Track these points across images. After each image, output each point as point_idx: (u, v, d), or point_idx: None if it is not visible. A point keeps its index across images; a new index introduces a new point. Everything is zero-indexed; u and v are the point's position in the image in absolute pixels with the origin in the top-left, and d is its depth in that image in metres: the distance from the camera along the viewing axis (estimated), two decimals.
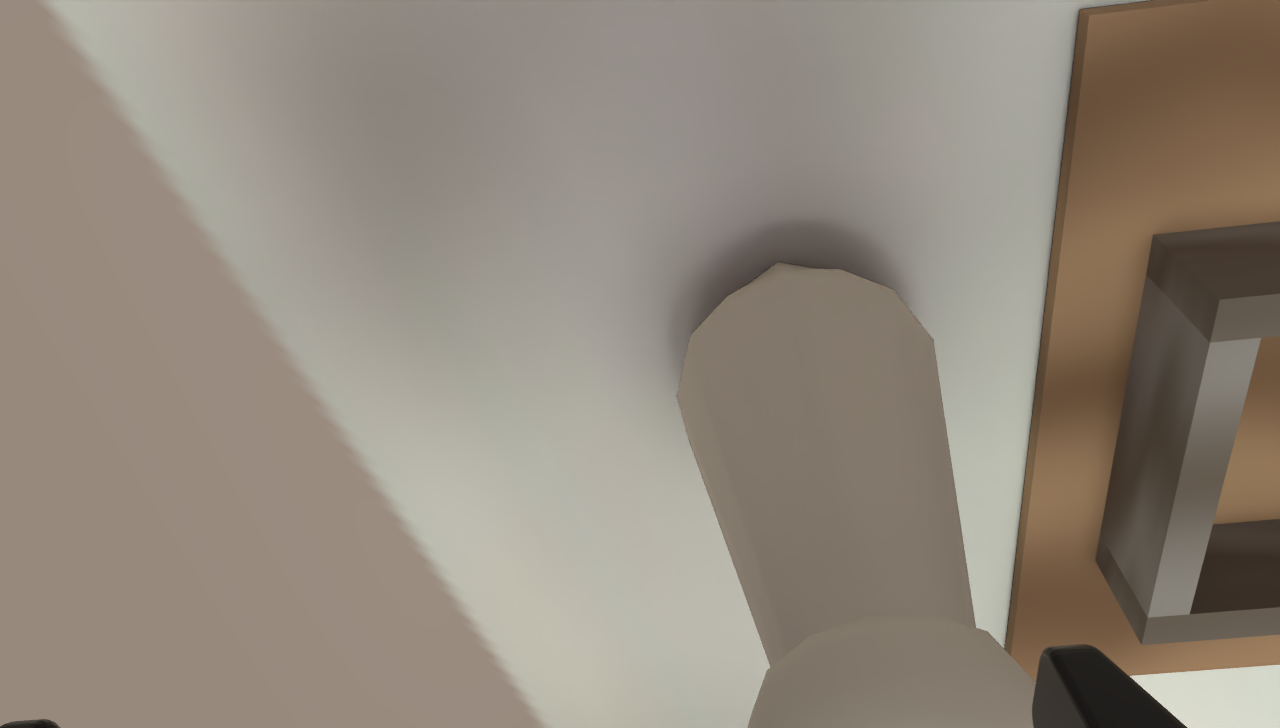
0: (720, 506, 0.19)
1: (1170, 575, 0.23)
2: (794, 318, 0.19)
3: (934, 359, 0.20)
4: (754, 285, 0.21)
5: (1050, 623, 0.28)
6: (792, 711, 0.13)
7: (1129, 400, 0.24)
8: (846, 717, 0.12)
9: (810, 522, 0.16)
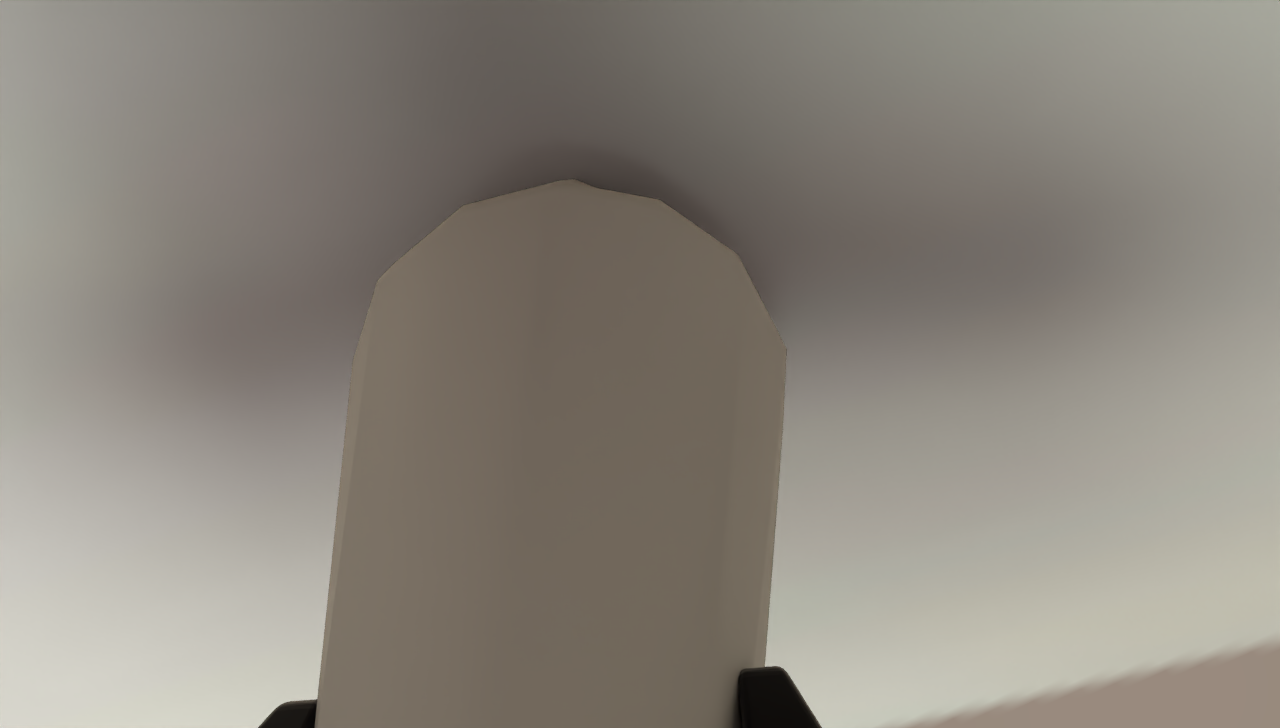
0: None
1: None
2: None
3: (443, 258, 0.11)
4: None
5: None
6: None
7: None
8: None
9: None
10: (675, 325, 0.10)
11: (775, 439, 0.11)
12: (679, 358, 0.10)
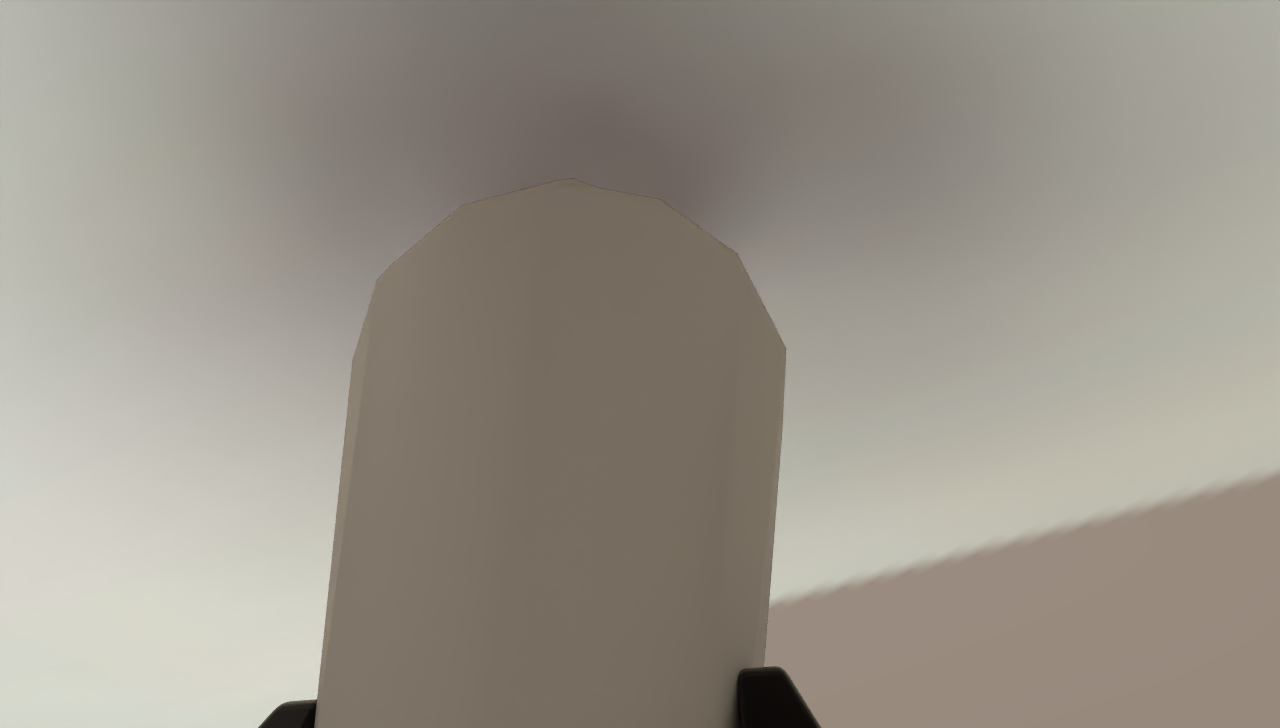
0: None
1: None
2: None
3: (443, 258, 0.11)
4: None
5: None
6: None
7: None
8: None
9: None
10: (674, 325, 0.10)
11: (774, 438, 0.11)
12: (678, 357, 0.10)
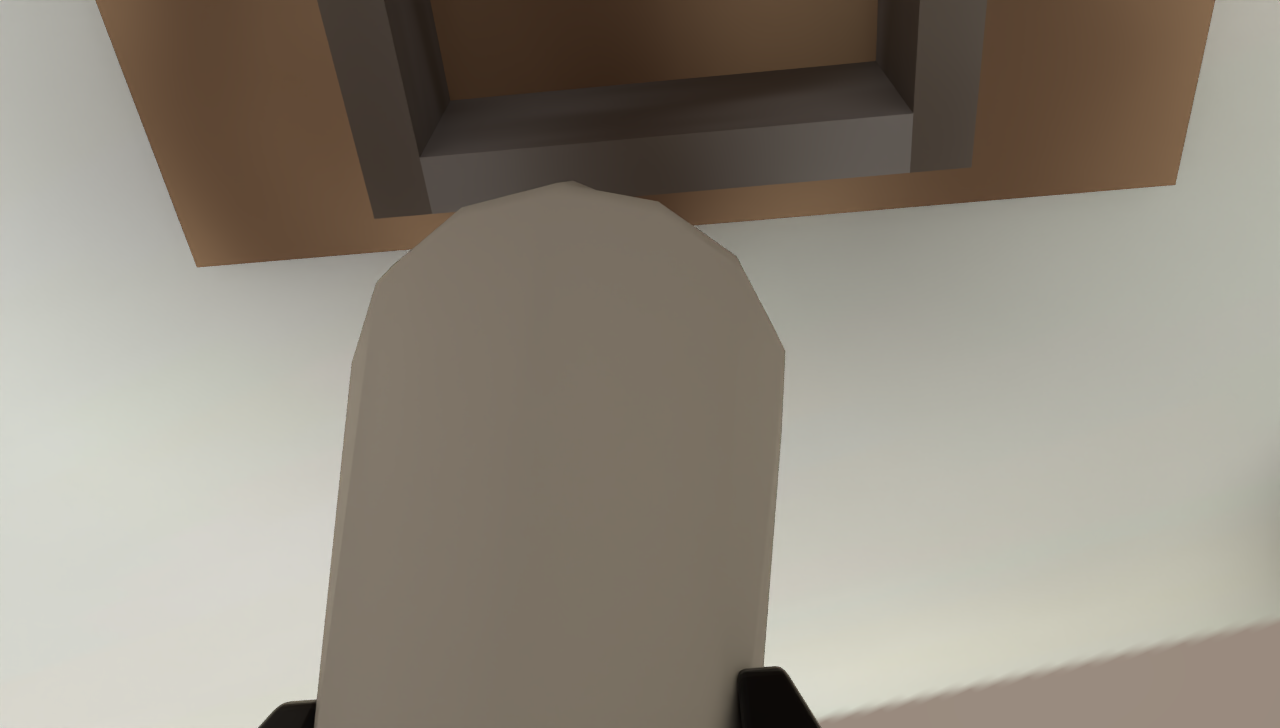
0: None
1: (823, 162, 0.16)
2: None
3: (442, 260, 0.11)
4: None
5: (1048, 146, 0.19)
6: None
7: None
8: None
9: None
10: (673, 328, 0.10)
11: (774, 441, 0.11)
12: (677, 360, 0.10)
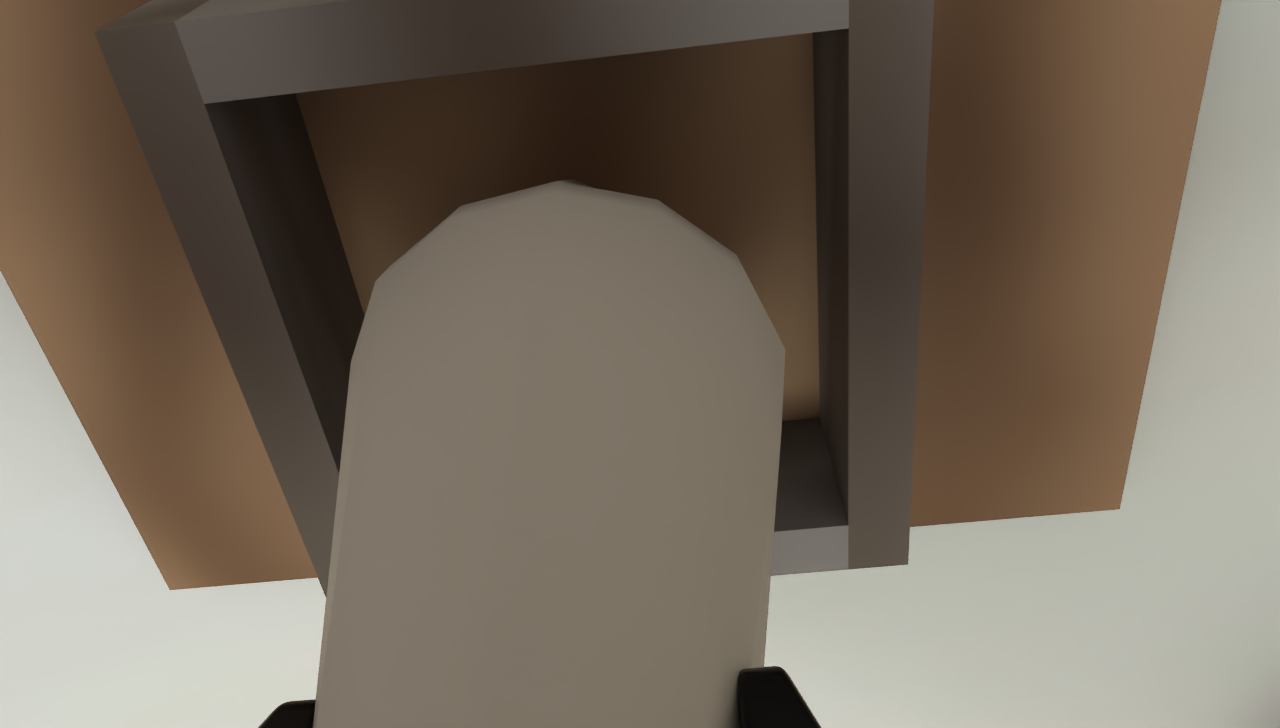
0: None
1: None
2: None
3: (442, 259, 0.11)
4: None
5: (993, 481, 0.19)
6: None
7: None
8: None
9: None
10: (673, 326, 0.10)
11: (774, 439, 0.11)
12: (677, 358, 0.10)
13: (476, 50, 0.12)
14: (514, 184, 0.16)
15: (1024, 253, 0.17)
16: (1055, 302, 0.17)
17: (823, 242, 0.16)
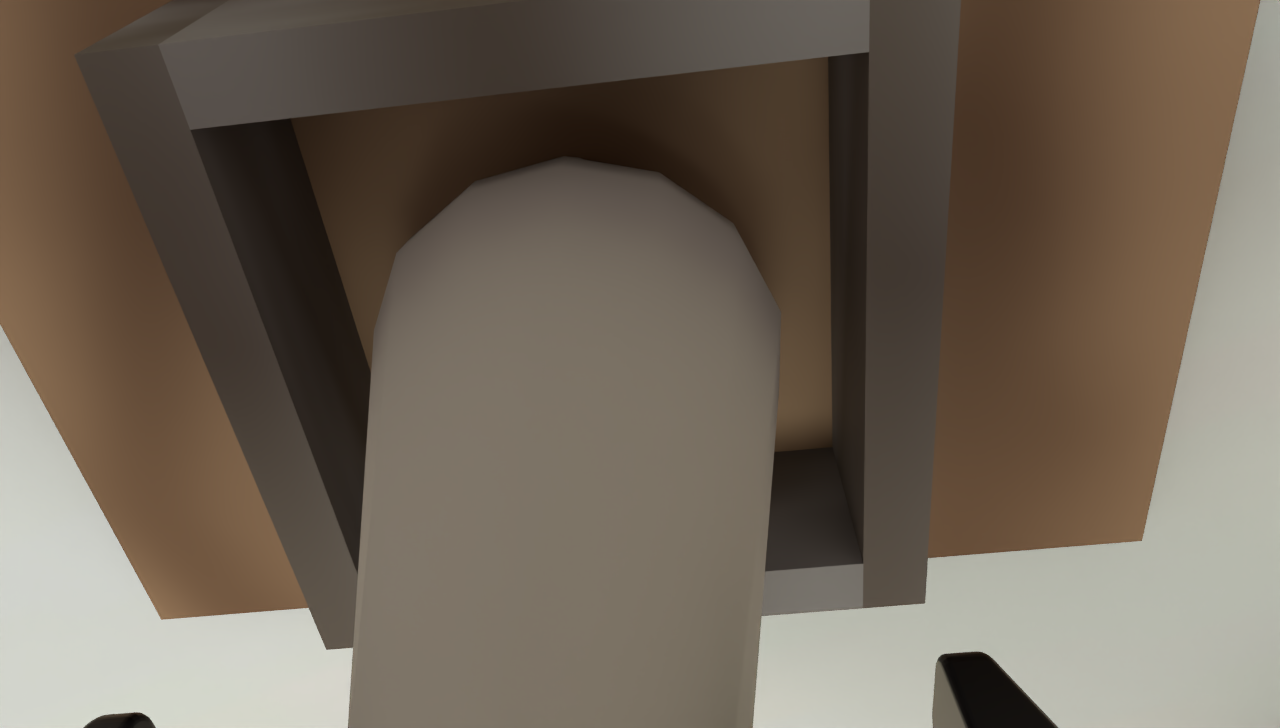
0: None
1: (775, 602, 0.16)
2: None
3: (459, 228, 0.12)
4: None
5: (1011, 512, 0.19)
6: None
7: None
8: None
9: None
10: (675, 284, 0.11)
11: (770, 391, 0.12)
12: (679, 313, 0.11)
13: (476, 74, 0.11)
14: None
15: (1046, 280, 0.16)
16: (1078, 329, 0.16)
17: (838, 269, 0.15)
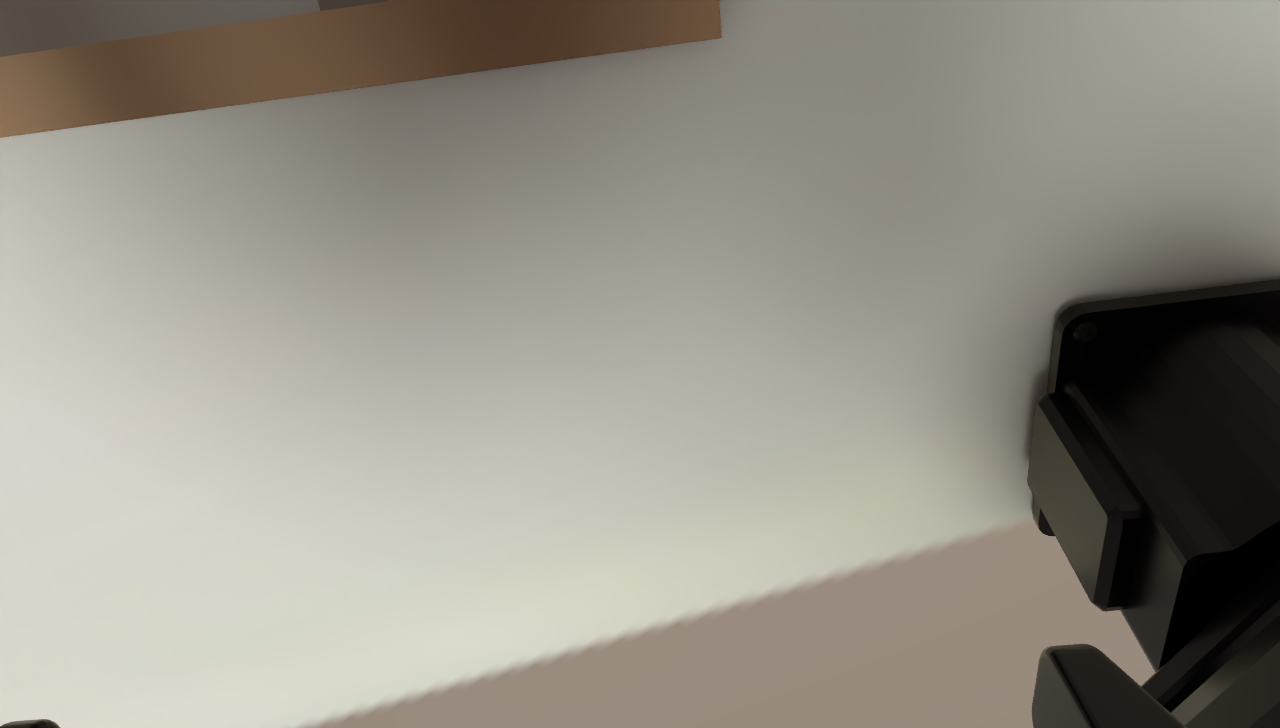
0: None
1: (219, 3, 0.14)
2: None
3: None
4: None
5: None
6: None
7: None
8: None
9: None
10: None
11: None
12: None
13: None
14: None
15: None
16: None
17: None
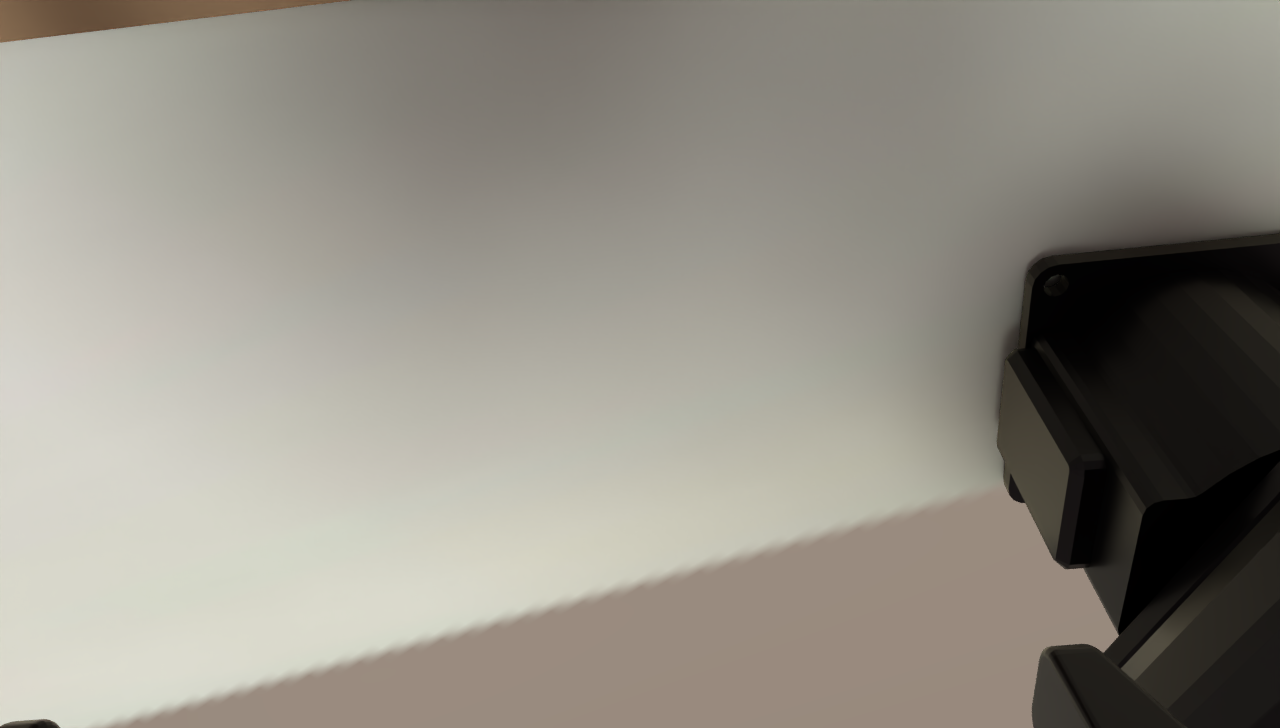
0: None
1: None
2: None
3: None
4: None
5: None
6: None
7: None
8: None
9: None
10: None
11: None
12: None
13: None
14: None
15: None
16: None
17: None
